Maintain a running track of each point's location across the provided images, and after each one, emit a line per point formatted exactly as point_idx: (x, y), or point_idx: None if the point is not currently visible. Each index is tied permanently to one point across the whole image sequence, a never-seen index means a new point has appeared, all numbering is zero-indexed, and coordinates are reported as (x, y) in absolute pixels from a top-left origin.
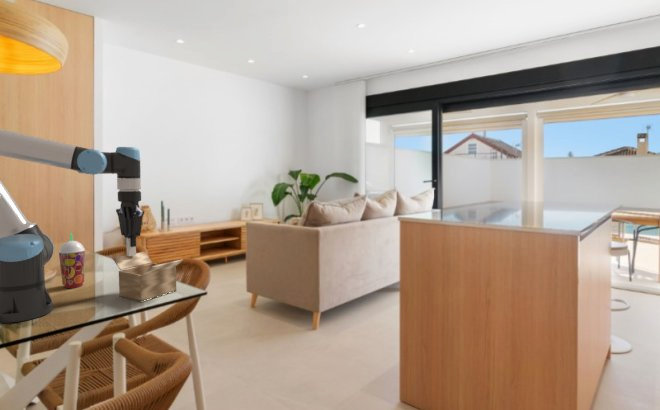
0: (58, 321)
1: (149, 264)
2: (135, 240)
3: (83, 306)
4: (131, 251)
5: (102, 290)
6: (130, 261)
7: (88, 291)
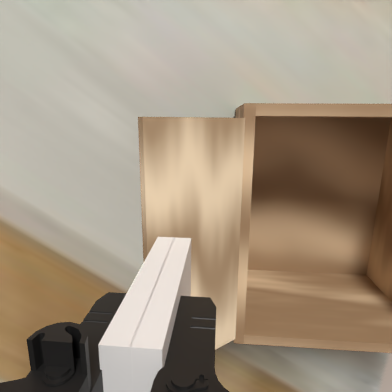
0: None
1: (252, 149)
2: (213, 352)
3: (221, 380)
4: (187, 295)
5: (100, 252)
6: (204, 272)
7: (70, 283)
